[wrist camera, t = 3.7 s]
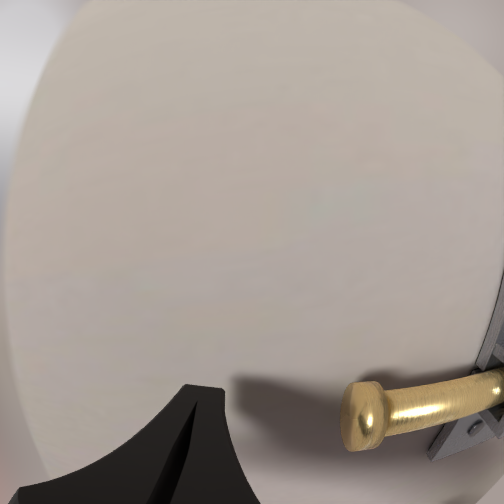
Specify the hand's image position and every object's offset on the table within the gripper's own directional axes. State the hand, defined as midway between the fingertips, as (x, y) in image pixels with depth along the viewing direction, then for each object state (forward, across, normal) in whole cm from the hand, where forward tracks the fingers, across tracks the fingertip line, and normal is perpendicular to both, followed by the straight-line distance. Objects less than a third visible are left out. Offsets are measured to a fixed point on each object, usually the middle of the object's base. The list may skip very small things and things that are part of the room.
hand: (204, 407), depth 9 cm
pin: (+1, -12, 0) cm, 12 cm away
